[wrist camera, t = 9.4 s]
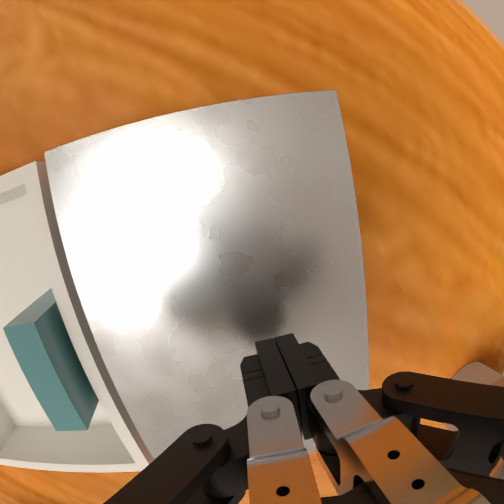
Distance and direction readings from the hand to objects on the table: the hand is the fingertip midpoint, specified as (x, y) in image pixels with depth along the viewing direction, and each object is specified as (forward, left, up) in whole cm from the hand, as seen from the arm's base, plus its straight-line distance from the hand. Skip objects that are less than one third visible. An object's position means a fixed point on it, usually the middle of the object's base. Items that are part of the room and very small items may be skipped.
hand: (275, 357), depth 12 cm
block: (0, -10, -4) cm, 10 cm away
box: (-1, -15, -8) cm, 17 cm away
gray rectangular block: (-1, -1, -8) cm, 8 cm away
